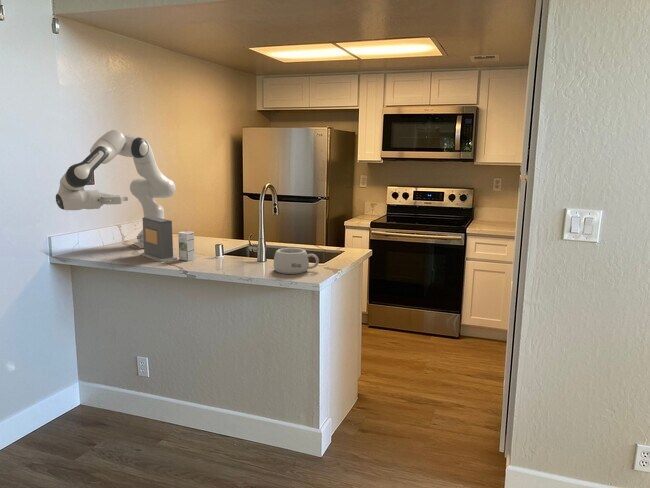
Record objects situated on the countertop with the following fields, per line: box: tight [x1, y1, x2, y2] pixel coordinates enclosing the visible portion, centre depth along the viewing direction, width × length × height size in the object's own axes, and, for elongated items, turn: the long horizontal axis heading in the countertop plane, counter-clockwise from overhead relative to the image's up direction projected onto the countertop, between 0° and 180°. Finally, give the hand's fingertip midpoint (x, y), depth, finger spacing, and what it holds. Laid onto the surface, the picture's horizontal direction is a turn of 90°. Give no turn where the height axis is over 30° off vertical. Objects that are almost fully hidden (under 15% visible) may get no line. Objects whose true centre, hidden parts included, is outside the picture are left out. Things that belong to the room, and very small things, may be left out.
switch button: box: [145, 228, 158, 245], centre depth 271 cm, size 12×3×7 cm, turn 44°
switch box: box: [140, 217, 178, 263], centre depth 273 cm, size 22×9×20 cm, turn 44°
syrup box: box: [177, 230, 196, 262], centre depth 268 cm, size 6×6×14 cm
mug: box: [273, 247, 320, 275], centre depth 248 cm, size 21×17×10 cm
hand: (123, 197), depth 257 cm, fingers open, 8 cm apart
